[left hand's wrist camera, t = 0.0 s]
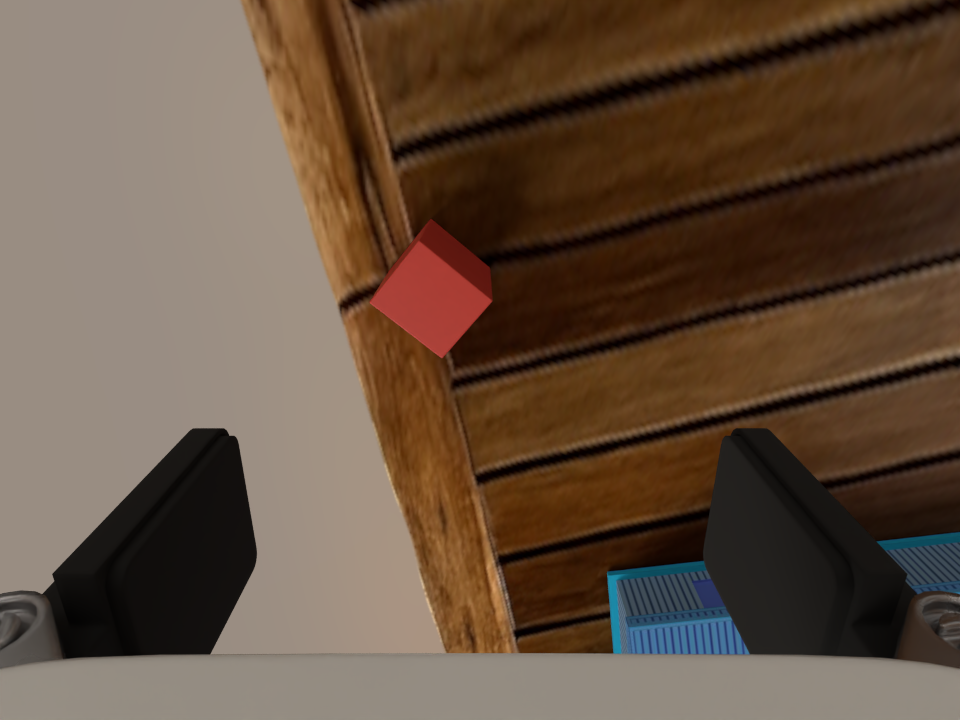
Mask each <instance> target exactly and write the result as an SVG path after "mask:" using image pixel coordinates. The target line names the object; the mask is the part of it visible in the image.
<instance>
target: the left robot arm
mask: <svg viewBox="0 0 960 720" xmlns="http://www.w3.org/2000/svg"><path fill="white" fill-rule="evenodd" d="M256 558H257V549H256V543H255V537H254V531H253V525H252V519H251V514H250V508H249V502H248V496H247V490H246V484H245V478H244V473H243V467H242V461H241V455H240V449H239V444H238V440H237V438H236V437H235V436H229V434H228V432H227V430H225V429H224V428H195V429H192V430H190V431H189V432H188V433H187V434H186V435H185V436H184V437H183V438H182V439H181V440H180V441H179V443H178V444H177V445H176V446H175V447H174V448H173V449H172V450H171V451H170V452H169V453H168V454H167V455H166V456H165V457H164V458H163V459H162V460H161V461H160V462H159V463H158V464H157V466H156V467H155V468H154V469H153V470H152V471H151V472H150V473H149V474H148V475H147V476H146V477H145V478H144V479H143V480H142V481H141V482H140V483H139V484H138V485H137V486H136V487H135V488H134V489H133V491H132V492H131V493H130V494H129V495H128V496H127V497H126V498H125V499H124V500H123V501H122V502H121V503H120V504H119V505H118V506H117V507H116V508H115V509H114V510H113V511H112V512H111V513H110V514H109V516H108V517H107V518H106V519H105V520H104V521H103V522H102V523H101V524H100V525H99V526H98V527H97V528H96V529H95V530H94V531H93V532H92V533H91V534H90V535H89V536H88V537H87V538H86V539H85V541H84V542H83V543H82V544H81V545H80V546H79V547H78V548H77V549H76V550H75V551H74V552H73V553H72V554H71V555H70V556H69V557H68V558H67V559H66V560H65V561H64V562H63V563H62V564H61V566H60V567H59V568H58V569H57V570H56V571H55V572H54V573H53V574H52V575H53V578H54V582H53V583H52V584H51V586H50V587H49V588H48V589H47V590H46V591H45V592H44V593H43V594H40V593H38V592H35V591H15V592H8V593H2V594H0V720H960V594H958V593H952V592H945V591H925V592H922V593H920V594H917V593H916V592H915V591H914V590H913V589H912V588H911V587H910V586H909V584H908V583H907V582H906V578H907V575H908V574H907V573H906V572H905V571H904V570H903V569H902V568H901V567H900V566H899V564H898V563H897V562H896V561H895V560H894V559H893V558H892V557H891V556H890V555H889V554H888V553H887V552H886V551H885V550H884V549H883V548H882V547H881V546H880V545H879V544H878V543H877V542H876V540H875V539H874V538H873V537H872V536H871V535H870V534H869V533H868V532H867V531H866V530H865V529H864V528H863V527H862V526H861V525H860V524H859V523H858V522H857V521H856V520H855V519H854V518H853V517H852V515H851V514H850V513H849V512H848V511H847V510H846V509H845V508H844V507H843V506H842V505H841V504H840V503H839V502H838V501H837V500H836V499H835V498H834V497H833V496H832V495H831V494H830V493H829V492H828V490H827V489H826V488H825V487H824V486H823V485H822V484H821V483H820V482H819V481H818V480H817V479H816V478H815V477H814V476H813V475H812V474H811V473H810V472H809V471H808V470H807V469H806V468H805V467H804V465H803V464H802V463H801V462H800V461H799V460H798V459H797V458H796V457H795V456H794V455H793V454H792V453H791V452H790V451H789V450H788V449H787V448H786V447H785V446H784V445H783V444H782V443H781V441H780V440H779V439H778V438H777V437H776V436H775V435H774V434H773V433H772V432H771V431H770V430H768V429H765V428H736V429H735V430H733V432H732V434H731V436H725V437H724V438H723V440H722V444H721V449H720V455H719V461H718V467H717V472H716V478H715V484H714V490H713V496H712V502H711V508H710V513H709V519H708V525H707V531H706V537H705V543H704V549H703V558H704V564H705V567H706V570H707V572H708V574H709V576H710V578H711V580H712V582H713V584H714V585H715V587H716V589H717V591H718V593H719V595H720V597H721V599H722V601H723V603H724V605H725V607H726V609H727V611H728V613H729V615H730V617H731V619H732V621H733V623H734V624H735V626H736V628H737V630H738V632H739V634H740V636H741V638H742V640H743V642H744V644H745V646H746V648H747V650H748V652H749V654H561V653H430V654H429V653H425V654H424V653H422V654H216V655H215V654H212V655H210V654H211V652H212V650H213V648H214V646H215V644H216V642H217V640H218V638H219V636H220V634H221V632H222V630H223V628H224V626H225V624H226V623H227V621H228V619H229V617H230V615H231V613H232V611H233V609H234V607H235V605H236V603H237V601H238V599H239V597H240V595H241V593H242V591H243V589H244V587H245V585H246V584H247V581H248V580H249V578H250V576H251V574H252V572H253V570H254V567H255V564H256Z"/></svg>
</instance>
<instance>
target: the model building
mask: <svg viewBox="0 0 960 720" xmlns="http://www.w3.org/2000/svg"><path fill="white" fill-rule="evenodd" d="M876 542H877V543H878V544H879V545H880V546H881V547H882V548H883V549H884V550H885V551H886V552H887V553H888V554H889V555H890V556H891V557H892V558H893V559H894V560H895V561H896V562H897V563H898V564H899V566H900V567H901V568H902V569H903V570H904V571H905V572H906V573H907V574H908V575H907V578H906V582H907V583H908V584H909V586H910V587H911V588H912V589H913V590H914V591H915V592H916V593H917V594H920V593H922V592H925V591H945V592H952V593H958V594H960V532H956V533H947V534H938V535H929V536H920V537H911V538H902V539H893V540H885V541H876ZM607 577H608V589H609V602H610V614H611V627H612V640H613V652H614V654H749V652H748V650H747V648H746V646H745V644H744V642H743V640H742V638H741V636H740V634H739V632H738V630H737V628H736V626H735V624H734V623H733V621H732V619H731V617H730V615H729V613H728V611H727V609H726V607H725V605H724V603H723V601H722V599H721V597H720V595H719V593H718V591H717V589H716V587H715V585H714V584H713V582H712V580H711V578H710V576H709V574H708V572H707V570H706V567H705V564H704V561H698V562H689V563H680V564H671V565H662V566H654V567H645V568H636V569H627V570H618V571H609V572H607Z"/></svg>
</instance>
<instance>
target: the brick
mask: <svg viewBox="0 0 960 720" xmlns="http://www.w3.org/2000/svg"><path fill="white" fill-rule="evenodd" d="M491 302H492V287H491V273H490V267H488V266H487V265H486V264H485V263H484V262H482V261H481V260H480V259H479V258H478V257H476V256H475V255H474V254H473V253H472V252H470V251H469V250H468V249H467V248H466V247H464V246H463V245H462V244H461V243H460V242H458V241H457V240H456V239H455V238H454V237H453V236H451V235H450V234H449V233H448V232H447V231H445V230H444V229H443V228H442V227H441V226H439V225H438V224H437V223H436V222H435V221H433V220H432V219H430V220H429V221H428V223H427V224H426V225H425V226H424V228H423V229H422V230H421V231H420V233H419V234H418V235H417V236H416V238H415V239H414V240H413V241H412V243H411V244H410V245H409V246H408V248H407V249H406V250H405V251H404V253H403V254H402V255H401V256H400V258H399V259H398V260H397V261H396V263H395V264H394V265H393V267H392V268H391V269H390V271H389V272H388V274H387V275H386V277H385V278H384V280H383V282H382V283H381V285H380V286H379V288H378V289H377V291H376V293H375V294H374V296H373V297H372V299H371V300H370V303H371V304H372V305H373V306H374V307H376V308H377V309H378V310H380V311H381V312H382V313H384V314H385V315H386V316H387V317H389V318H390V319H391V320H393V321H394V322H395V323H397V324H398V325H399V326H400V327H402V328H403V329H404V330H406V331H407V332H408V333H410V334H411V335H412V336H413V337H415V338H416V339H417V340H419V341H420V342H421V343H423V344H424V345H425V346H427V347H428V348H429V349H430V350H432V351H433V352H434V353H436V354H437V355H438V356H440V357H441V358H443V357H444V356H445V355H446V353H447V352H448V351H449V350H450V349H451V348H452V347H453V345H454V344H455V343H456V342H457V341H458V340H459V339H460V337H461V336H462V335H463V334H464V333H465V332H466V331H467V330H468V328H469V327H470V326H471V325H472V324H473V323H474V322H475V320H476V319H477V318H478V317H479V316H480V315H481V314H482V312H483V311H484V310H485V309H486V308H487V307H488V306H489V304H490V303H491Z"/></svg>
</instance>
